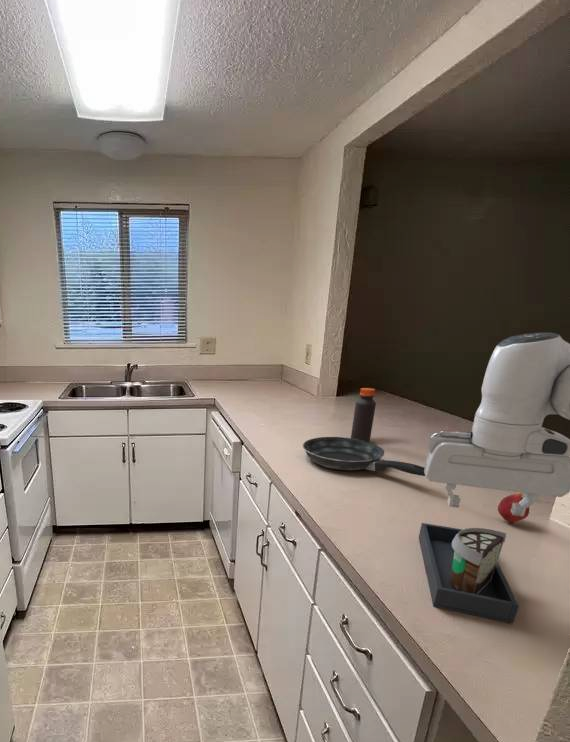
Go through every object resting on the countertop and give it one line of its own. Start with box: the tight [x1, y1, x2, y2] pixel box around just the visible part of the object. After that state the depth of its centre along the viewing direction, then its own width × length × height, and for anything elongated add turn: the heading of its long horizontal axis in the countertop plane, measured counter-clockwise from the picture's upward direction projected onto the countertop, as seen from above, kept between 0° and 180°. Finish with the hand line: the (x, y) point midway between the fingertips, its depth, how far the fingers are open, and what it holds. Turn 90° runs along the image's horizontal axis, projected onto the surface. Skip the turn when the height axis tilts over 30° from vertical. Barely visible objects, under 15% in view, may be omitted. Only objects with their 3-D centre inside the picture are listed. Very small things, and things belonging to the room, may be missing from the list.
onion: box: [497, 492, 530, 524], centre depth 103 cm, size 6×6×8 cm
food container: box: [450, 527, 507, 595], centre depth 80 cm, size 12×6×10 cm, turn 127°
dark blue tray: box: [418, 522, 520, 625], centre depth 85 cm, size 12×26×4 cm, turn 156°
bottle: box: [350, 387, 377, 443], centre depth 161 cm, size 7×7×20 cm
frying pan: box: [302, 436, 426, 477], centre depth 136 cm, size 44×25×7 cm, turn 27°
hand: (484, 509), depth 76 cm, fingers open, 8 cm apart
